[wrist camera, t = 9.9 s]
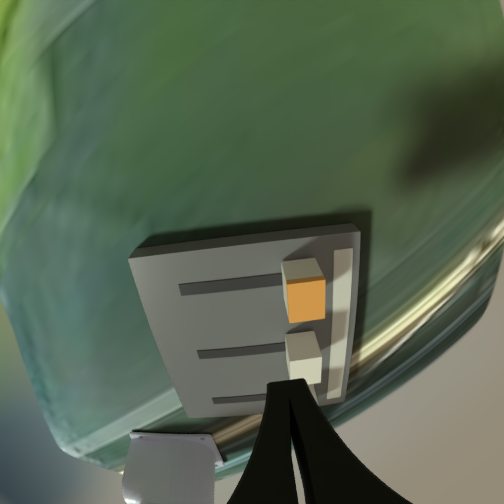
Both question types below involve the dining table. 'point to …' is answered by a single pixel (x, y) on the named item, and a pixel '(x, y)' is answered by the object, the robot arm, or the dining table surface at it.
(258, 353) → the panel
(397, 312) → the dining table surface
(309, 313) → the switch
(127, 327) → the dining table surface
